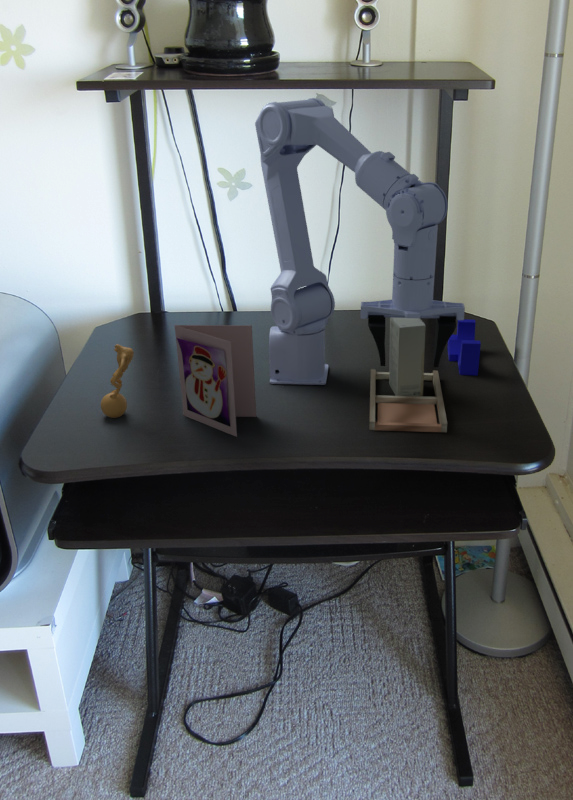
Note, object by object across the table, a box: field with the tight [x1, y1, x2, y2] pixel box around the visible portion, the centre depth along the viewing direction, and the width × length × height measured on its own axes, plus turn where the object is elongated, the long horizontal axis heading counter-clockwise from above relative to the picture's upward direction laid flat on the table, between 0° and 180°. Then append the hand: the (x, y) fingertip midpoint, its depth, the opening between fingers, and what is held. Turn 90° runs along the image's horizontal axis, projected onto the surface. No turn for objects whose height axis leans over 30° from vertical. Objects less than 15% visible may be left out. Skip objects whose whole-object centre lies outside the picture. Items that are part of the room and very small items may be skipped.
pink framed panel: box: [368, 368, 448, 433], centre depth 116 cm, size 11×19×2 cm, turn 174°
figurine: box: [100, 343, 135, 419], centre depth 112 cm, size 8×6×12 cm
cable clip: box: [446, 318, 482, 377], centre depth 129 cm, size 12×4×6 cm, turn 172°
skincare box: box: [388, 318, 427, 396], centre depth 118 cm, size 6×4×12 cm
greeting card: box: [174, 324, 257, 438], centre depth 109 cm, size 11×7×15 cm, turn 50°
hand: (409, 364), depth 108 cm, fingers open, 7 cm apart
